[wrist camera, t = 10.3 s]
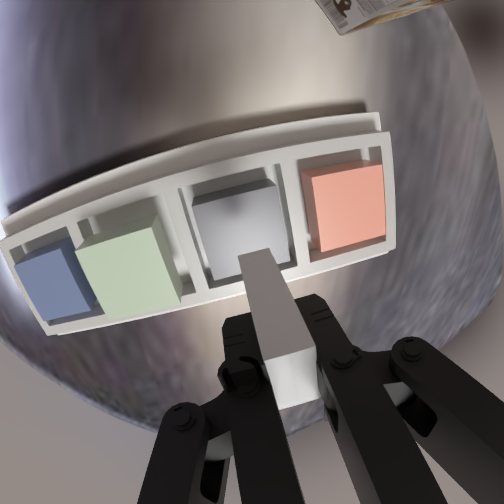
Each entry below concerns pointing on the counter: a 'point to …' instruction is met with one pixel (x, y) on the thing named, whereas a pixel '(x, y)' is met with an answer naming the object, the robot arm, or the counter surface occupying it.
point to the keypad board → (199, 183)
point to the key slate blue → (56, 280)
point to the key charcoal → (240, 225)
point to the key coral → (344, 203)
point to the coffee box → (370, 11)
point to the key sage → (131, 269)
